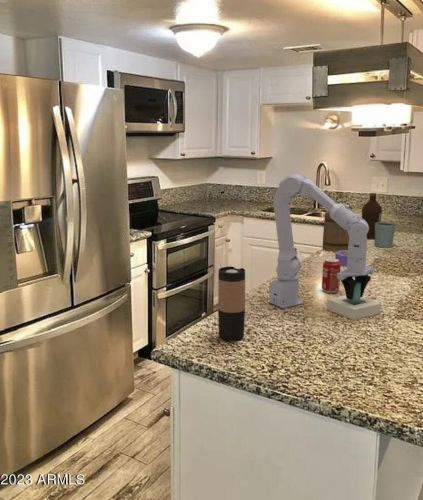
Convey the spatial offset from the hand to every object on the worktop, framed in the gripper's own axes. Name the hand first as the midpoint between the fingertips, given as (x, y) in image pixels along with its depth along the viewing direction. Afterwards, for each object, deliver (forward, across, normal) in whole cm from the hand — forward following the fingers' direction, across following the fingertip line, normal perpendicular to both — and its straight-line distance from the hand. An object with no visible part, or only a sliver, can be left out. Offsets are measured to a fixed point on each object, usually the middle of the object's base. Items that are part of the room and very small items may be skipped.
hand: (354, 297), depth 165 cm
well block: (+5, 0, 0) cm, 5 cm away
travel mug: (+5, -46, +3) cm, 46 cm away
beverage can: (+5, +9, +20) cm, 22 cm away
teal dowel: (+2, 0, 0) cm, 2 cm away
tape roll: (+5, +45, +46) cm, 65 cm away
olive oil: (+5, +98, +81) cm, 127 cm away
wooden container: (+5, +62, +70) cm, 94 cm away
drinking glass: (+5, +87, +62) cm, 107 cm away
